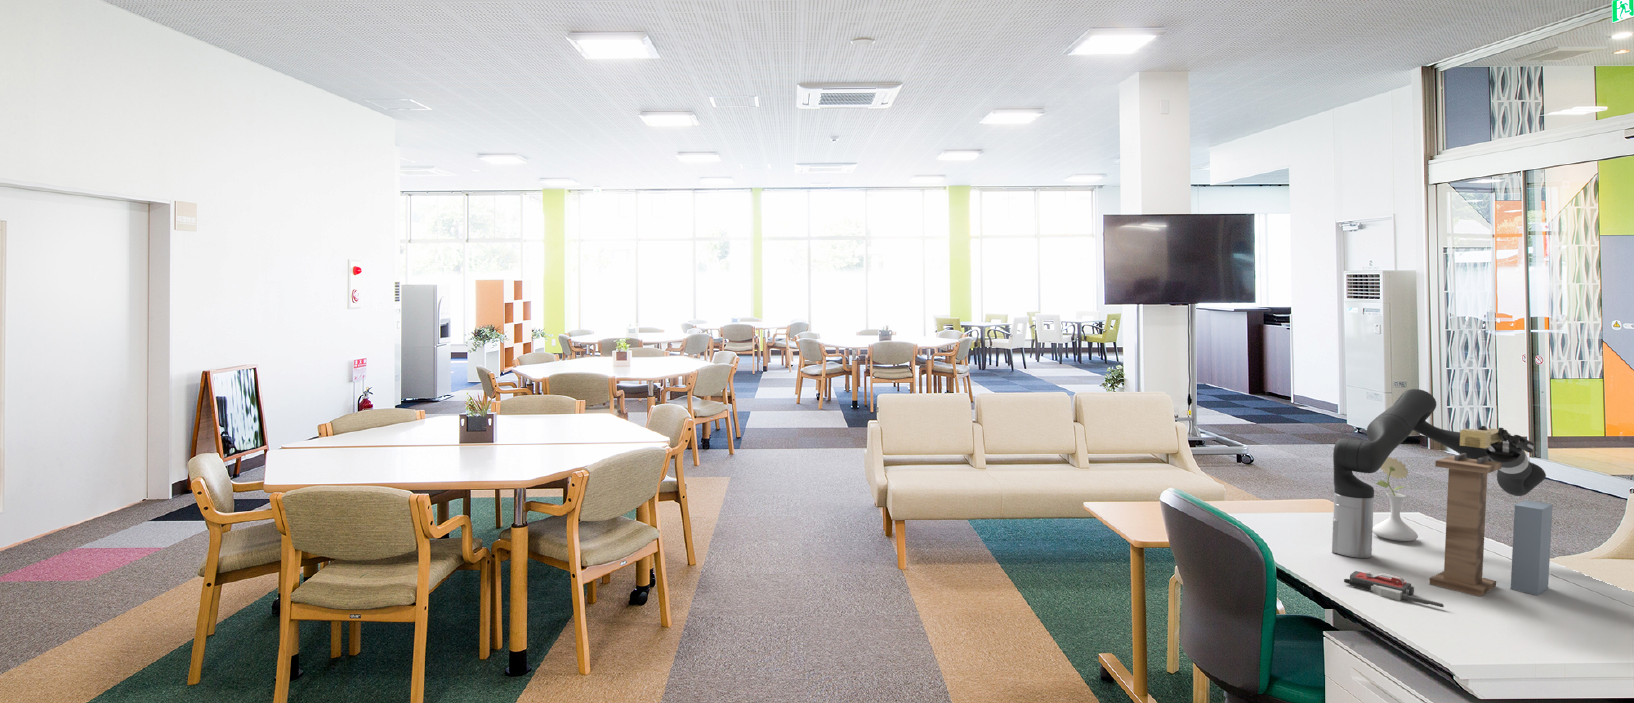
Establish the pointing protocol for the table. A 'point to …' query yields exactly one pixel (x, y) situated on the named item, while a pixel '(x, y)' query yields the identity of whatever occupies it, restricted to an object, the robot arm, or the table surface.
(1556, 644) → the table surface
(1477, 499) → the brown wooden pedestal
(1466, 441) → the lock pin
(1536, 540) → the grey rectangular pillar
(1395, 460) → the flower in vase
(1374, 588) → the red long two-tone device
